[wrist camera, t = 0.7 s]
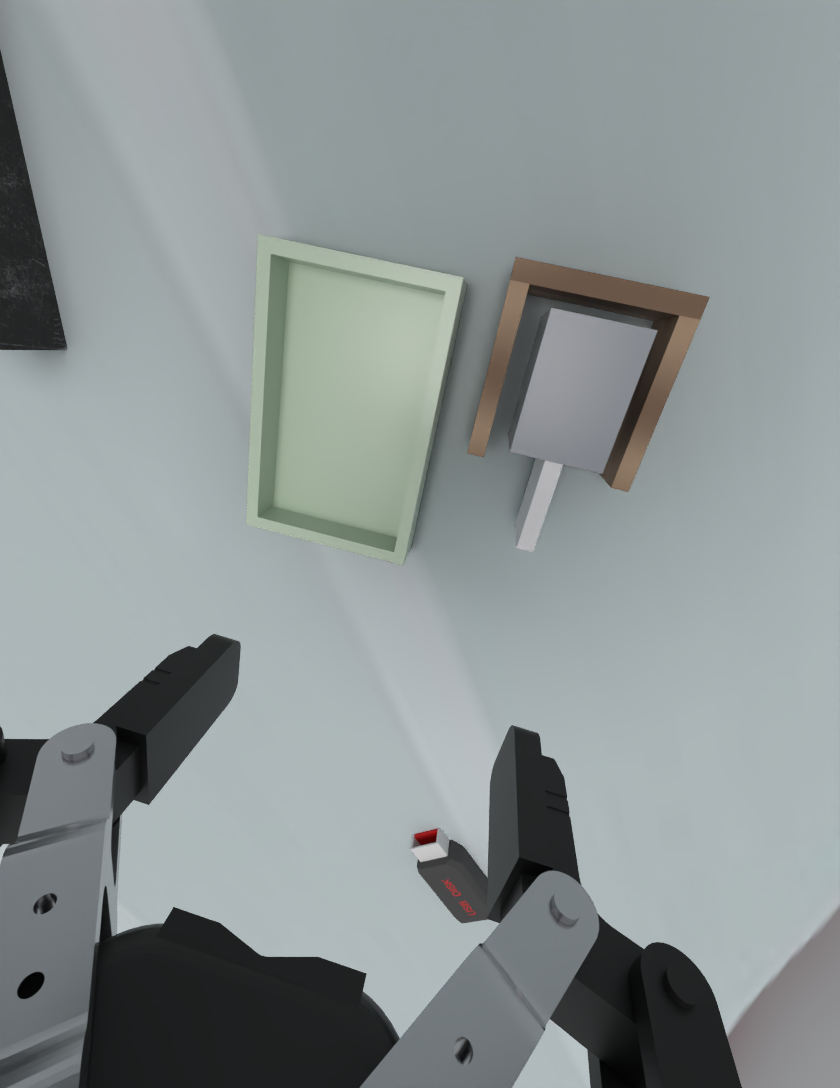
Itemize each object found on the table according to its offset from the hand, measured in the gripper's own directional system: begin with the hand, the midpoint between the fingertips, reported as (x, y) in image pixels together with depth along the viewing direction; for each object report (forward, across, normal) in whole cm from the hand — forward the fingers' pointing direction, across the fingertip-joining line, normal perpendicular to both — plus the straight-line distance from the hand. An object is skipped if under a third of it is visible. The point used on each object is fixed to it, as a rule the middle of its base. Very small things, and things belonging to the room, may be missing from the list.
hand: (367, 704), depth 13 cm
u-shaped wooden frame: (+21, -5, -9) cm, 23 cm away
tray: (+21, +8, -4) cm, 23 cm away
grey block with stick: (+21, -5, -9) cm, 23 cm away
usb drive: (+22, -11, +40) cm, 47 cm away
